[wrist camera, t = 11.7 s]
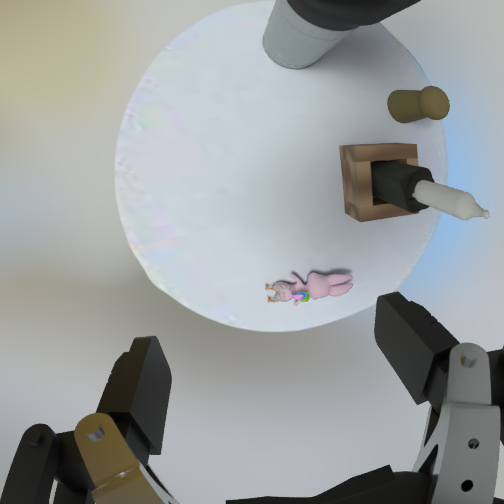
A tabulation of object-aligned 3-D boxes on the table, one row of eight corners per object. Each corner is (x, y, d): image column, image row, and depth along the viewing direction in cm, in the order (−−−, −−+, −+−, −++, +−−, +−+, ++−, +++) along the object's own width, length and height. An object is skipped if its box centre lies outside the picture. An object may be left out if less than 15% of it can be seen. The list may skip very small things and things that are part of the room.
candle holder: (339, 145, 42) (355, 146, 37) (396, 143, 43) (416, 144, 37) (345, 212, 46) (360, 222, 41) (400, 205, 47) (418, 213, 41)
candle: (357, 167, 43) (470, 199, 20) (382, 157, 43) (500, 182, 19) (366, 196, 45) (474, 249, 21) (391, 186, 44) (503, 229, 21)
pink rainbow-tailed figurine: (269, 302, 53) (351, 291, 51) (268, 321, 47) (358, 309, 45) (264, 271, 50) (350, 259, 48) (262, 288, 45) (358, 275, 43)
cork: (398, 129, 42) (438, 129, 32) (381, 98, 40) (419, 90, 30) (420, 114, 41) (460, 113, 31) (404, 85, 39) (443, 76, 29)
